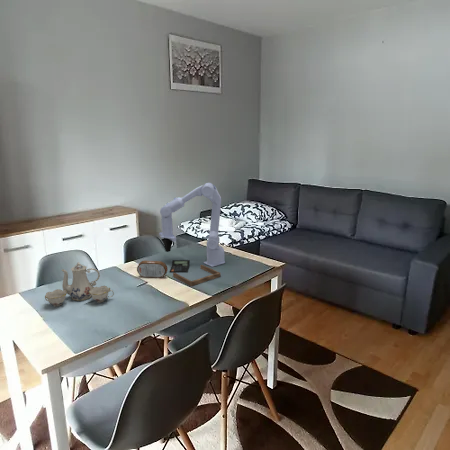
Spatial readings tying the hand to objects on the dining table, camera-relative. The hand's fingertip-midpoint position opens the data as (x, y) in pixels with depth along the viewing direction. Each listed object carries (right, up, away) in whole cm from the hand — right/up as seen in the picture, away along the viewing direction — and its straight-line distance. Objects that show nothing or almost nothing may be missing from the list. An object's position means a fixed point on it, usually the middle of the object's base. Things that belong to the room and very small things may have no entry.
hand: (168, 251), depth 202 cm
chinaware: (-32, -18, -41) cm, 55 cm away
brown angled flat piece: (+17, -11, -18) cm, 27 cm away
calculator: (+7, -9, -6) cm, 13 cm away
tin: (-5, -12, -18) cm, 22 cm away
